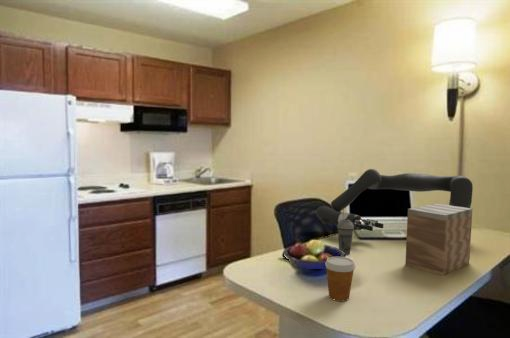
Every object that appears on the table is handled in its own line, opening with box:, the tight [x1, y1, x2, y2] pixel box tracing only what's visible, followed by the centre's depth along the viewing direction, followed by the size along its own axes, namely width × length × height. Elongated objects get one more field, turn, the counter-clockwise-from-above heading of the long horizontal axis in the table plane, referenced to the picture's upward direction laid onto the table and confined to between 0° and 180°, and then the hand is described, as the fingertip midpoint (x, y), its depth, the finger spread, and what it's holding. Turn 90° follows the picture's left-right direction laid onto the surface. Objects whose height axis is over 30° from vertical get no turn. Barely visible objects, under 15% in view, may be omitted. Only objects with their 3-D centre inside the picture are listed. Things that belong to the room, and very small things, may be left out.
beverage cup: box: [336, 208, 355, 256], centre depth 164 cm, size 7×7×20 cm
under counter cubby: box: [405, 202, 473, 276], centre depth 151 cm, size 23×15×23 cm, turn 128°
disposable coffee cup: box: [325, 256, 356, 302], centre depth 119 cm, size 10×10×12 cm
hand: (377, 227), depth 173 cm, fingers open, 8 cm apart
